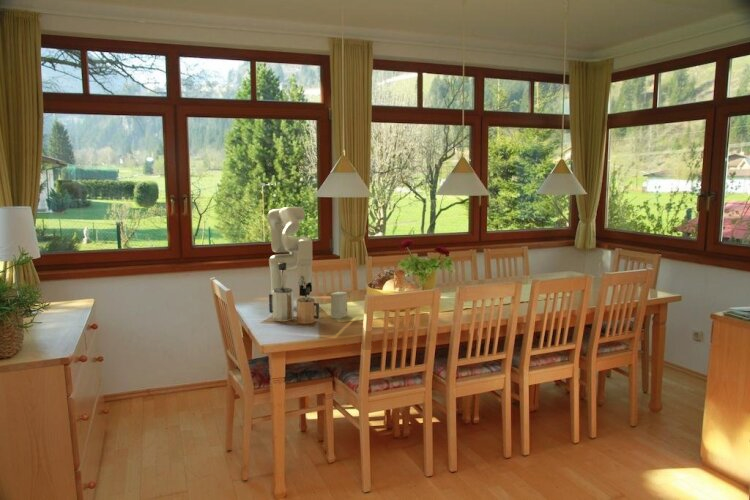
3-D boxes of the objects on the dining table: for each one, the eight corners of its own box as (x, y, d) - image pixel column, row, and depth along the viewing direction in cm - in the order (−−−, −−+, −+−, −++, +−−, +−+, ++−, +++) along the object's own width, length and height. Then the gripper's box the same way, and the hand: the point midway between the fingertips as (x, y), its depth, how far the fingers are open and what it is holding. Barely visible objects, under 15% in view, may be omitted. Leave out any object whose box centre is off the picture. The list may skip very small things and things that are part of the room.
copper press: (300, 319, 313) (300, 296, 311) (321, 320, 310) (321, 297, 308) (294, 323, 303) (294, 300, 302) (315, 325, 301) (315, 301, 299)
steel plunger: (279, 294, 315) (278, 261, 312) (292, 295, 313) (291, 262, 310) (273, 297, 307) (272, 263, 305) (286, 298, 306) (286, 264, 303)
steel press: (274, 315, 319) (273, 286, 317) (296, 317, 316) (295, 288, 314) (265, 320, 308) (265, 290, 306) (288, 322, 305) (288, 292, 303)
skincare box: (339, 321, 313) (339, 294, 311) (330, 319, 316) (330, 293, 314) (347, 317, 321) (347, 291, 319) (338, 316, 324) (338, 290, 321)
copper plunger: (302, 313, 310) (302, 286, 308) (313, 314, 309) (313, 286, 307) (298, 316, 304) (297, 288, 302) (309, 317, 303) (309, 289, 301)
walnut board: (273, 316, 322) (273, 314, 322) (324, 320, 315) (324, 318, 315) (260, 325, 305) (260, 322, 304) (313, 328, 298) (313, 326, 298)
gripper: (304, 259, 312) (304, 290, 314) (292, 264, 295) (293, 296, 297) (317, 260, 310) (317, 290, 312) (306, 265, 293) (306, 297, 296)
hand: (305, 293), depth 305 cm, fingers open, 9 cm apart
